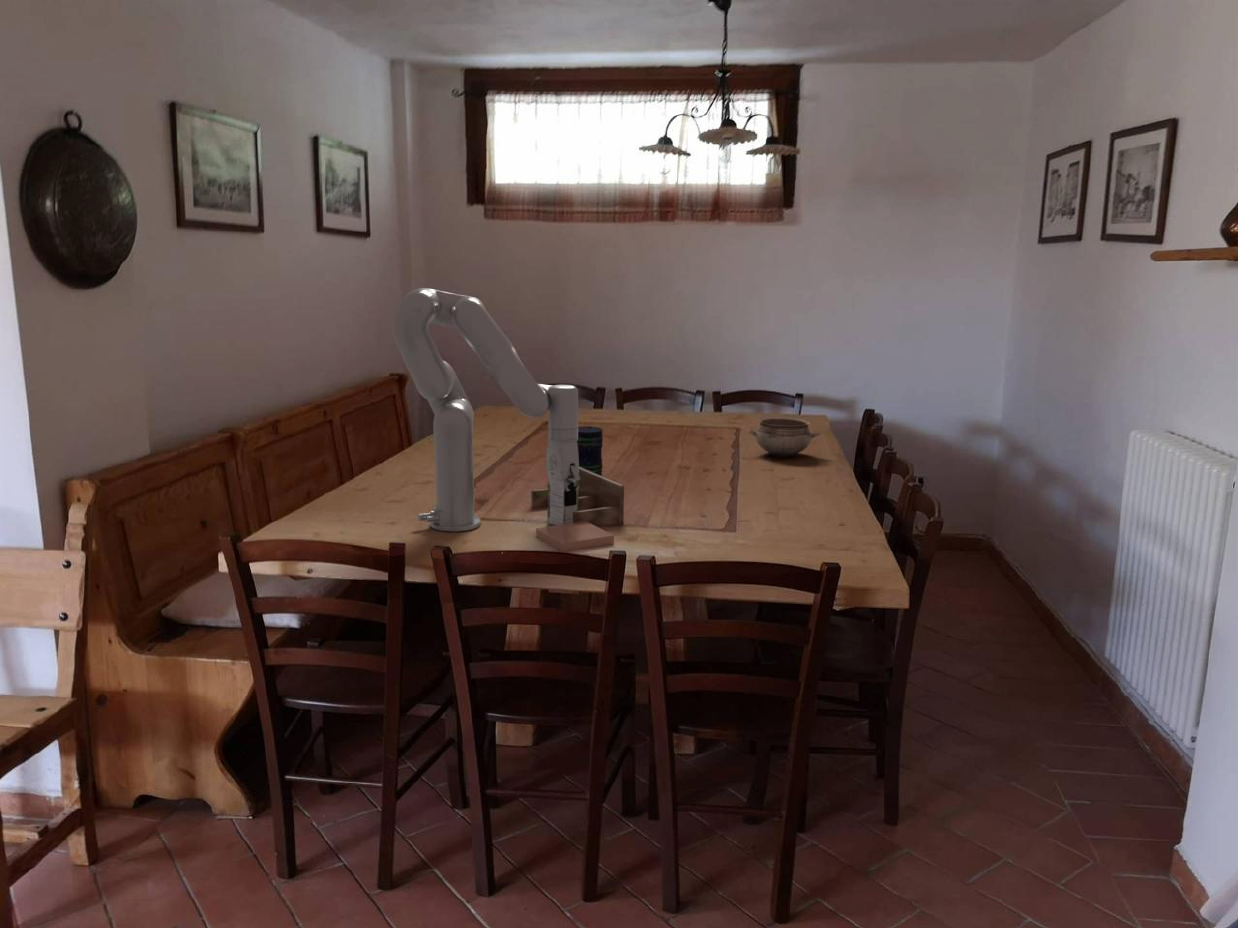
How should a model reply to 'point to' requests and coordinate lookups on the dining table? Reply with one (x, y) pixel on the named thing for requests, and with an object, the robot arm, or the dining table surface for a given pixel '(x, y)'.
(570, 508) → the syrup box
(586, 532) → the terracotta tile
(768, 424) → the cooking pot
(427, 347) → the robot arm
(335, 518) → the dining table surface
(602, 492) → the walnut rack
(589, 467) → the storage jar
